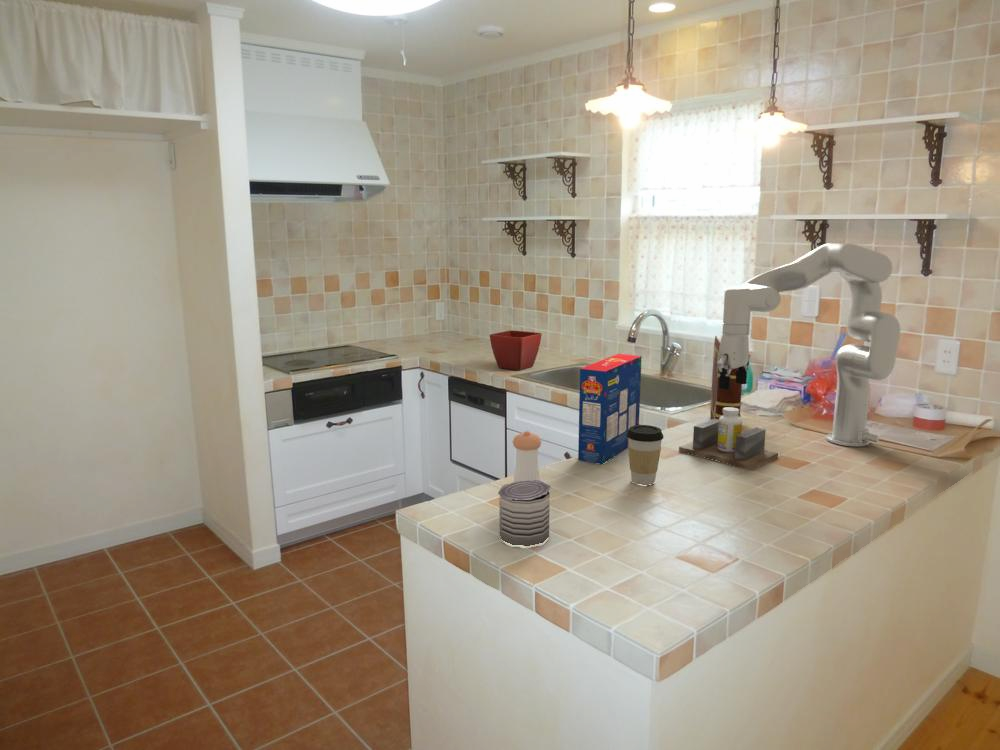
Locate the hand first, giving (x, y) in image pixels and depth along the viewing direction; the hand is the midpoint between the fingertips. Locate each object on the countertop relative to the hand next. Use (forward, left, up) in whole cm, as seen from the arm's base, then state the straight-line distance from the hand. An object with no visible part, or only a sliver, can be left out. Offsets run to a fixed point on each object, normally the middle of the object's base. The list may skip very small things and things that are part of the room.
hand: (732, 386), depth 210 cm
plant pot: (+141, -48, -22) cm, 151 cm away
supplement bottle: (0, 0, -20) cm, 20 cm away
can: (+2, +86, -22) cm, 89 cm away
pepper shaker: (+15, +72, -22) cm, 77 cm away
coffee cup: (+4, +38, -22) cm, 44 cm away
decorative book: (+17, -28, -22) cm, 39 cm away
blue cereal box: (+28, +22, -22) cm, 42 cm away
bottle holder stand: (0, 0, -21) cm, 21 cm away
